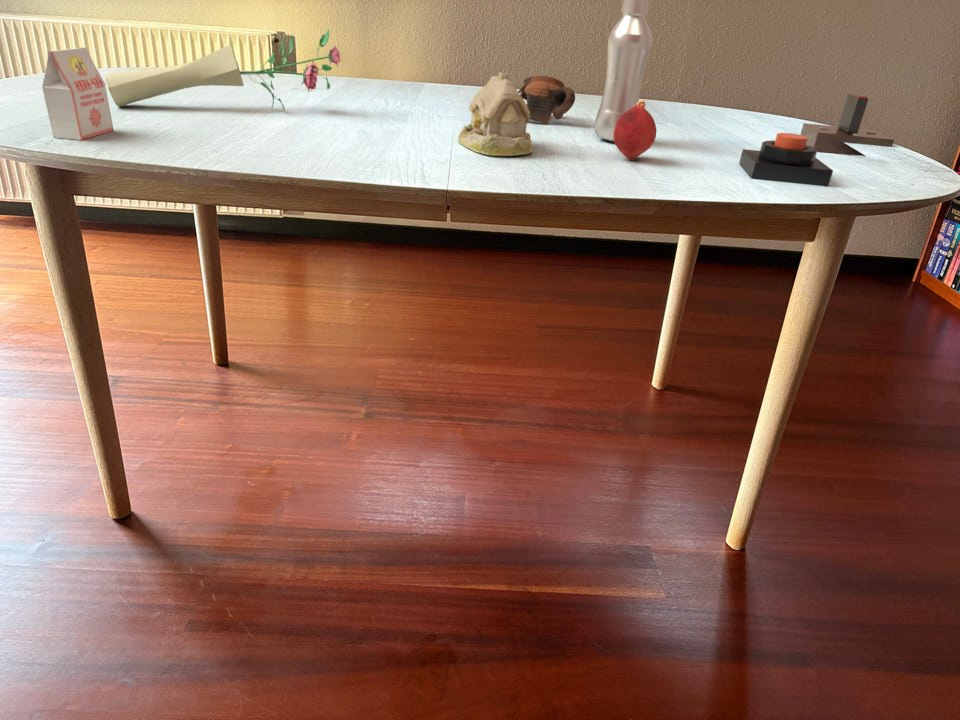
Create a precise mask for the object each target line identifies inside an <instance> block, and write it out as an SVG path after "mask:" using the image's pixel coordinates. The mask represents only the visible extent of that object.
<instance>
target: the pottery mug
mask: <svg viewBox="0 0 960 720" xmlns="http://www.w3.org/2000/svg"><path fill="white" fill-rule="evenodd" d="M523 83H524V85H522V86H521V87H520V88H519V89H518V90H517V92H518V93H519V95H520V96H521V97H522V98H523V100H524V101H526V104H527V107H528V109H529V111H530V118H529V120H530V121H533V122H537V123H542V124H545V125H549V124H550V120H551V117H552V116H553V118H554V119H555V120H561V119H562V118H563V116H564V115H565V114H566V113H568V112H569V111H570V110H571V109H572V107H573V106H574V104H575V101H576V93H575V91H574V90H573V89H572V88H571V87H568V86H565V84H564V82H562V81H561V80H559V79H557V78H555V77H553V76H547V75H533V76H528V77H526V78H525V79H524V80H523Z"/></svg>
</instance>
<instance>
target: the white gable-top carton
mask: <svg viewBox="0 0 960 720" xmlns="http://www.w3.org/2000/svg"><path fill="white" fill-rule="evenodd" d="M41 89H42V92H43V97H44V101H45V107H46V111H47V114H48V119H49V124H50V128H51V132H52V133H51V134H52V137H53V138H57V139H66V140H67V139H68V140H74V141H75V140H76V141H77V140H78V141H83V140H87V139H89V138H93V137H96V136H100V135H103V134H107V133H110V132H114V124H113V119H112V113H111V108H110V102H109V97H108V91H107V87H106V81H105V80H104V79H103V77H102V75H101V73H100V72H99V70H98V68H97V67H96V65H95V63H94V61H93V59H92V57H91V55H90V53H89V50H88V47H77V48H67V49H57V50H48V51H47V59H46V67H45V71H44V77H43V81H42V86H41Z"/></svg>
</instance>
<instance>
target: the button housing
mask: <svg viewBox="0 0 960 720" xmlns="http://www.w3.org/2000/svg"><path fill="white" fill-rule="evenodd" d="M774 143H775V140H765V141H762V143H761V146H760V150H755V149H745V148H743V149H742V151H741V155H740V159H739V162H738V165H739V166H740V167H741V168H742V169H743V171H744V172H745V173H746V174H747V176H748V177H749V178H750V180H758V181H760V180H761V181H771V182H779V183H789V184H798V185H807V186H817V187H826V188H827V187H829V185H830V182H831V179H832V176H833V172H834V170H833V169H832V168H830V167H829V166H828V165H826V164H825V163H824V162H823V161H821V160H820V159H819V158H817V157H816V156H817V153H818V152H817V149H815V148H814V147H811V146H808V145H806V147H805V150H796V149H787V148H782V147H778V146H774Z"/></svg>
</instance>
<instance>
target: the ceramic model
mask: <svg viewBox="0 0 960 720" xmlns="http://www.w3.org/2000/svg"><path fill="white" fill-rule="evenodd" d="M468 111H469V112H471V114H470V115H471V117H470V123H469V124H467V125H463V127H462V129H461V131H460V133H459V135H458V137H457V139H458V144H460V145H462V146H463V147H465V148H467V149H469V150H471V151H473V152H476V153H478V154H482V155H487V156H494V157H495V156H499V157H501V156H503V157H504V156H506V157H507V156H523V155H528V154H530V153H532V152H534V145H533V143H532V139H531V134H530V132H527V125H528V124H529V123H530V122H531V120H529V118H530V111H529V109H528V107H527V102H526V100H525V99H523V98H522V97H521V96H520V93H518V89H517V88H516V86H515V85H514V82H512V81H511V80H510V78H509V73H508V72H506V71H499V73H498V75H493V76H491V78H489V80H488V82H487V83H486V84H485V85H484V86H483V87H482V88H481V89H480V90H478V92H477V93H476V94H475V95H474V97H473V99H472V100H471V101H470V103H469V106H468Z"/></svg>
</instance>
